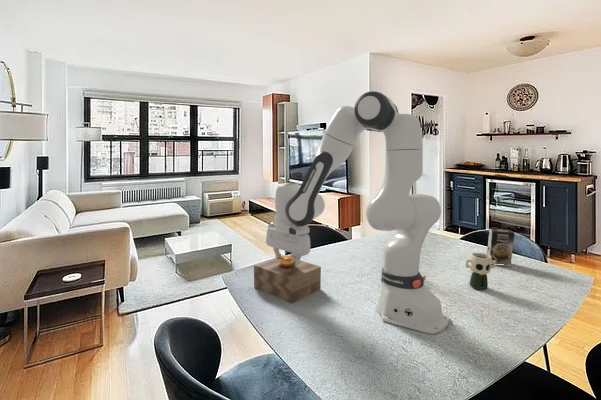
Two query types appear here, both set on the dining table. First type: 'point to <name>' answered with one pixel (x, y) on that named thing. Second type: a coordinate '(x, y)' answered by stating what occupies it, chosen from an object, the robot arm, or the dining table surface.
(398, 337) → the dining table surface
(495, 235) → the coffee box
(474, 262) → the character mug
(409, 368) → the dining table surface
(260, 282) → the walnut block
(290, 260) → the steel pin
